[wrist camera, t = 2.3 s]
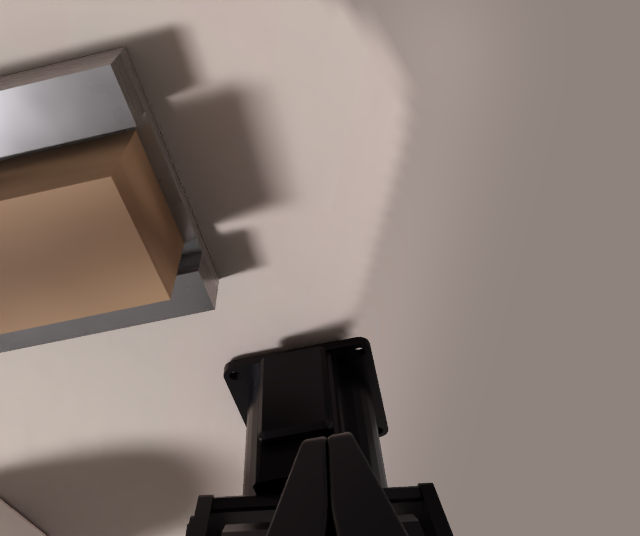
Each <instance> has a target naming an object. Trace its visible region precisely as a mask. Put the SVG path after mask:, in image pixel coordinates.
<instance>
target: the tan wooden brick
mask: <svg viewBox="0 0 640 536" xmlns="http://www.w3.org/2000/svg"><path fill="white" fill-rule="evenodd" d="M183 247H184V241H183V239H182V237H181V234H180V232H179V230H178V227H177V225H176V223H175V220H174V218H173V216H172V213H171V211H170V209H169V206H168V204H167V202H166V199H165V197H164V195H163V192H162V190H161V188H160V185H159V183H158V181H157V178H156V176H155V174H154V171H153V169H152V167H151V164H150V162H149V160H148V157H147V155H146V153H145V150H144V148H143V146H142V143H141V141H140V139H139V136H138V134H137V132H136V130H133V131H129V132H124V133H120V134H116V135H111V136H107V137H103V138H98V139H94V140H89V141H85V142H81V143H76V144H72V145H68V146H63V147H59V148H54V149H50V150H46V151H41V152H37V153H33V154H28V155H24V156H19V157H15V158H11V159H6V160H2V161H0V334H5V333H9V332H14V331H19V330H24V329H29V328H34V327H39V326H44V325H49V324H54V323H58V322H63V321H68V320H73V319H78V318H83V317H88V316H93V315H98V314H103V313H107V312H112V311H117V310H122V309H127V308H132V307H137V306H142V305H147V304H152V303H156V302H161V301H166V300H170V299H171V295H172V291H173V287H174V283H175V279H176V275H177V271H178V267H179V263H180V259H181V255H182V251H183Z"/></svg>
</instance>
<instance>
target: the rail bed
mask: <svg viewBox="0 0 640 536" xmlns="http://www.w3.org/2000/svg"><path fill="white" fill-rule="evenodd" d="M133 130H136V132H137V134H138V136H139V139H140V141H141V143H142V146H143V148H144V150H145V153H146V155H147V157H148V160H149V162H150V164H151V167H152V169H153V171H154V174H155V176H156V178H157V181H158V183H159V185H160V188H161V190H162V192H163V195H164V197H165V199H166V202H167V204H168V206H169V209H170V211H171V213H172V216H173V218H174V220H175V223H176V225H177V227H178V230H179V232H180V234H181V237H182V239H183V241H184V247H183V251H182V255H181V259H180V263H179V267H178V271H177V275H176V279H175V283H174V287H173V291H172V295H171V299H170V300H166V301H161V302H156V303H152V304H147V305H142V306H137V307H132V308H127V309H122V310H117V311H112V312H107V313H103V314H98V315H93V316H88V317H83V318H78V319H73V320H68V321H63V322H58V323H54V324H49V325H44V326H39V327H34V328H29V329H24V330H19V331H14V332H9V333H5V334H0V353H1V352H6V351H11V350H16V349H21V348H26V347H31V346H36V345H41V344H46V343H51V342H56V341H61V340H66V339H71V338H76V337H81V336H86V335H90V334H95V333H100V332H105V331H110V330H115V329H120V328H125V327H130V326H135V325H140V324H145V323H150V322H155V321H160V320H165V319H170V318H175V317H180V316H185V315H190V314H195V313H200V312H205V311H210V310H215V304H216V297H217V290H218V283H219V278H218V276H217V274H216V271H215V269H214V266H213V264H212V261H211V259H210V256H209V254H208V251H207V249H206V246H205V244H204V241H203V239H202V236H201V234H200V231H199V229H198V226H197V224H196V221H195V219H194V216H193V214H192V211H191V209H190V206H189V204H188V202H187V199H186V197H185V194H184V192H183V189H182V187H181V184H180V182H179V179H178V177H177V174H176V172H175V169H174V167H173V164H172V162H171V159H170V157H169V154H168V152H167V149H166V147H165V144H164V142H163V139H162V137H161V134H160V132H159V130H158V127H157V125H156V122H155V120H154V117H153V115H152V112H151V110H150V107H149V105H148V102H147V100H146V97H145V95H144V92H143V90H142V87H141V85H140V82H139V80H138V77H137V75H136V72H135V70H134V67H133V65H132V63H131V60H130V58H129V55H128V53H127V50H126V48H125V47H122V48H118V49H114V50H109V51H105V52H101V53H97V54H93V55H89V56H85V57H80V58H76V59H72V60H68V61H64V62H60V63H55V64H51V65H47V66H43V67H39V68H35V69H31V70H26V71H22V72H18V73H14V74H10V75H6V76H1V77H0V161H2V160H6V159H11V158H15V157H19V156H24V155H28V154H33V153H37V152H41V151H46V150H50V149H54V148H59V147H63V146H68V145H72V144H76V143H81V142H85V141H89V140H94V139H98V138H103V137H107V136H111V135H116V134H120V133H124V132H129V131H133Z"/></svg>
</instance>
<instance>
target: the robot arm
mask: <svg viewBox="0 0 640 536" xmlns="http://www.w3.org/2000/svg"><path fill="white" fill-rule="evenodd" d="M357 348H362V349H360V350H356V349H357ZM233 372H238V373H233ZM224 379H225V381H226V383H227V386H228V388H229V390H230V392H231V394H232V396H233V399H234V401H235V403H236V405H237V407H238V410H239V412H240V414H241V416H242V418H243V421H244V423H245V425H246V427H247V431H246V449H245V466H244V483H243V496H226V497H214V495H199V497H198V502H197V506H196V510H195V515H194V516H191V517H190V521H189V524H187V530H186V536H453V534H452V531H451V528H450V526H449V523H448V521H447V518H446V516H445V513H444V511H443V508H442V505H441V503H440V500H439V497H438V495H437V492H436V490H435V487H434V484H433V483H419V484H418V486H409V487H392V488H388V487H387V481H386V475H385V470H384V463H383V458H382V452H381V446H380V440H379V437H381V436H383V435H385V434H387V432H388V426H387V421H386V416H385V411H384V407H383V402H382V397H381V393H380V388H379V384H378V379H377V374H376V370H375V365H374V360H373V356H372V352H371V347H370V343H369V341H368V340H367V339H366V338H363V337H355V338H350V339H345V340H340V341H334V342H329V343H324V344H319V345H314V346H309V347H303V348H298V349H293V350H288V351H283V352H278V353H272V354H267V355H262V356H257V357H252V358H247V359H241V360H236V361H232V362H229V363H227V364H226V365H225V368H224Z"/></svg>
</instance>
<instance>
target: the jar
mask: <svg viewBox="0 0 640 536" xmlns="http://www.w3.org/2000/svg"><path fill="white" fill-rule="evenodd" d="M0 536H47V535H46V534H44V533H43V532H42V531H41V530H39V529H38V528H37V527H36V526H34V525H33V524H32V523H31V522H29V521H28V520H27V519H25V518H24V517H23V516H22V515H20V514H19V513H18V512H17V511H15V510H14V509H13V508H12V507H10V506H9V505H8V504H7V503H5V502H4V501H3V500H2V499H0Z"/></svg>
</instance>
